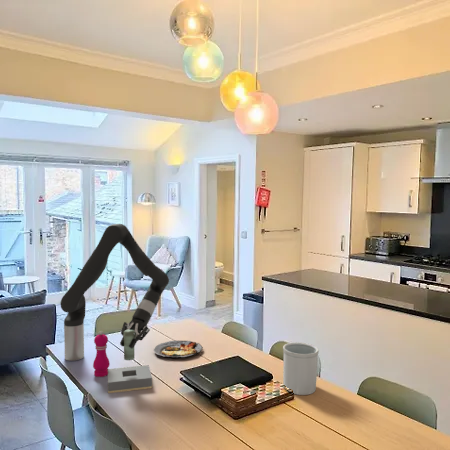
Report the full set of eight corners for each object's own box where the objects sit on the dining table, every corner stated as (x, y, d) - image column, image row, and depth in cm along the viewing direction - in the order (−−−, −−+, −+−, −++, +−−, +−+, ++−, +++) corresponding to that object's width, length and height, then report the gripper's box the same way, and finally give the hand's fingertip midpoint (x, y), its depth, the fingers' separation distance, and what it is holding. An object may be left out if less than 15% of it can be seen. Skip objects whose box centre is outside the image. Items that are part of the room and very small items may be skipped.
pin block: (107, 379, 186) (107, 369, 186) (148, 374, 191) (148, 364, 191) (108, 393, 173) (107, 382, 172) (152, 388, 178) (152, 377, 177)
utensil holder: (295, 377, 190) (296, 339, 188) (324, 388, 179) (325, 348, 178) (275, 387, 179) (275, 347, 178) (304, 399, 169) (305, 357, 168)
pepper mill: (104, 378, 187) (104, 334, 186) (90, 376, 188) (89, 333, 187) (112, 371, 194) (112, 329, 193) (98, 370, 195) (97, 328, 194)
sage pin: (123, 357, 183) (123, 330, 182) (134, 356, 184) (133, 329, 183) (124, 360, 179) (124, 333, 178) (134, 359, 180) (134, 332, 179)
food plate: (205, 344, 230) (205, 338, 230) (198, 361, 207) (198, 354, 207) (160, 343, 233) (160, 337, 232) (149, 360, 210) (149, 353, 209)
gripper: (128, 305, 190) (109, 339, 180) (153, 309, 183) (134, 345, 173) (136, 314, 195) (118, 347, 185) (160, 318, 188) (143, 353, 178)
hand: (126, 346), depth 179 cm, fingers closed on sage pin, 4 cm apart
